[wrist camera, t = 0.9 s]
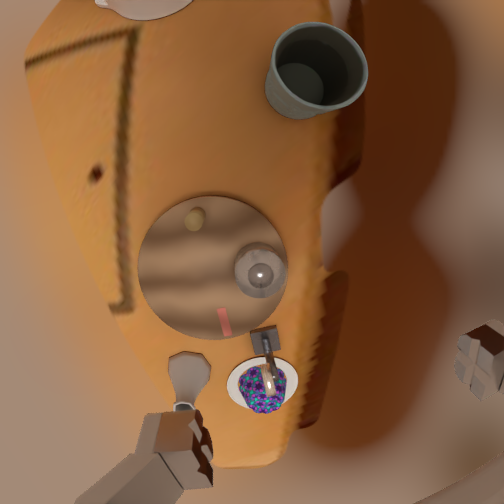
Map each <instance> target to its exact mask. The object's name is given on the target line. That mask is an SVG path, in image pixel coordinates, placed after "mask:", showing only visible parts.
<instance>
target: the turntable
mask: <svg viewBox="0 0 504 504" xmlns="http://www.w3.org/2000/svg"><path fill="white" fill-rule="evenodd" d="M254 242H262V243H266V244H268V245H270V246H271V247H273V248H274V249H275V251H276V252H277V254H278V255H279V257H280V259H281V260H282V262H283V264H284V266H285V271H286V276H285V281H284V283H283V285H282V287H281V288H280V289H279V290H278V291H277V292H276V293H275V294H273V295H272V296H269V297H266V298H252V297H249V296H247V295H246V294H244V293H243V292H242V291H241V290H240V289H239V287H238V286H237V283H236V280H235V271H234V261H235V257H236V255H237V253H238V252H239V251H240V249H241V248H243V247H244V246H246V245H248V244H250V243H254ZM138 277H139V283H140V286H141V290H142V292H143V295H144V297H145V299H146V301H147V303H148V304H149V306H150V307H151V309H152V310H153V311H154V313H155V314H156V315H157V316H158V317H159V318H160V319H161V320H162V321H163V322H165V323H166V324H167V325H168V326H170V327H172V328H173V329H175V330H177V331H179V332H181V333H183V334H185V335H188V336H191V337H195V338H199V339H207V340H221V339H229V338H233V337H237V336H240V335H242V334H245V333H247V332H249V331H251V330H253V329H255V328H256V327H257V326H259V325H260V324H262V323H263V322H264V321H265V320H266V319H267V318H268V317H269V316H270V315H271V314H272V313H273V312H274V310H275V309H276V307H277V306H278V304H279V303H280V301H281V298H282V296H283V294H284V291H285V288H286V284H287V278H288V261H287V255H286V251H285V248H284V245H283V243H282V240H281V238H280V237H279V235H278V233H277V231H276V230H275V229H274V227H273V226H272V225H271V223H270V222H269V221H268V220H267V219H266V218H265V217H264V216H263V215H262V214H261V213H260V212H258V211H257V210H256V209H254V208H253V207H251V206H249V205H248V204H246V203H244V202H241V201H239V200H236V199H233V198H229V197H224V196H201V197H195V198H192V199H189V200H186V201H183V202H181V203H179V204H177V205H175V206H174V207H172V208H171V209H169V210H168V211H167V212H165V213H164V214H163V215H162V216H161V217H160V218H158V220H157V221H156V222H155V223H154V224H153V225H152V226H151V228H150V229H149V231H148V233H147V234H146V236H145V238H144V240H143V243H142V245H141V249H140V252H139V258H138Z"/></svg>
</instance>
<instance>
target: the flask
mask: <svg viewBox="0 0 504 504" xmlns="http://www.w3.org/2000/svg"><path fill="white" fill-rule="evenodd" d="M210 371H211V366H210V365H209V363H208V362H207V361H206V359H205V358H204V356H203V355H202V354H197V353H190V352H182V353H179V354H177V355H175V356H172V357H170V358H169V365H168V373H169V376H170V378H171V381H172V384H173V387H174V390H175V393H176V402H174V404H173V411H185V410H195V406H194V402H195V400H196V397H197V396H198V395H199V393H200V392H201V390H202V389H203V388H204V386H205V385H206V384H207V382H208V381H209V378H210Z"/></svg>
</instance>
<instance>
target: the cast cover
mask: <svg viewBox="0 0 504 504" xmlns="http://www.w3.org/2000/svg"><path fill="white" fill-rule="evenodd" d="M234 271H235V280H236V283H237V286H238V287H239V289H240V290H241V291H242V292H243V293H244V294H246V295H247V296H249V297H252V298H266V297H269V296H272V295H273V294H275V293H276V292H277V291H278V290H279V289H280V288H281V287H282V285H283V283H284V281H285V276H286V271H285V266H284V264H283V262H282V260H281V259H280V257H279V255H278V254H277V252H276V251H275V249H274V248H273V247H271V246H270V245H268V244H266V243H262V242H254V243H250V244H248V245H246V246H244V247H243V248H241V249H240V251H239V252H238V253H237V255H236V257H235V261H234Z"/></svg>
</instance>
